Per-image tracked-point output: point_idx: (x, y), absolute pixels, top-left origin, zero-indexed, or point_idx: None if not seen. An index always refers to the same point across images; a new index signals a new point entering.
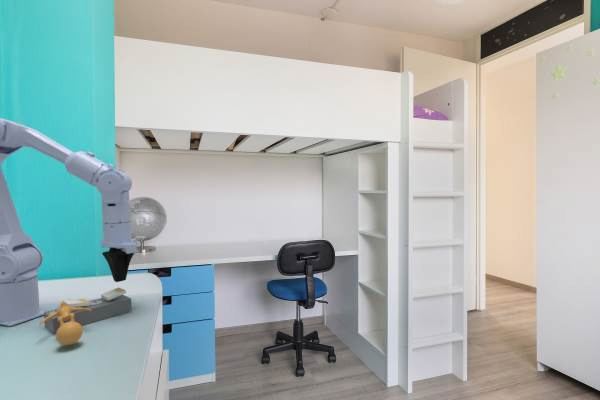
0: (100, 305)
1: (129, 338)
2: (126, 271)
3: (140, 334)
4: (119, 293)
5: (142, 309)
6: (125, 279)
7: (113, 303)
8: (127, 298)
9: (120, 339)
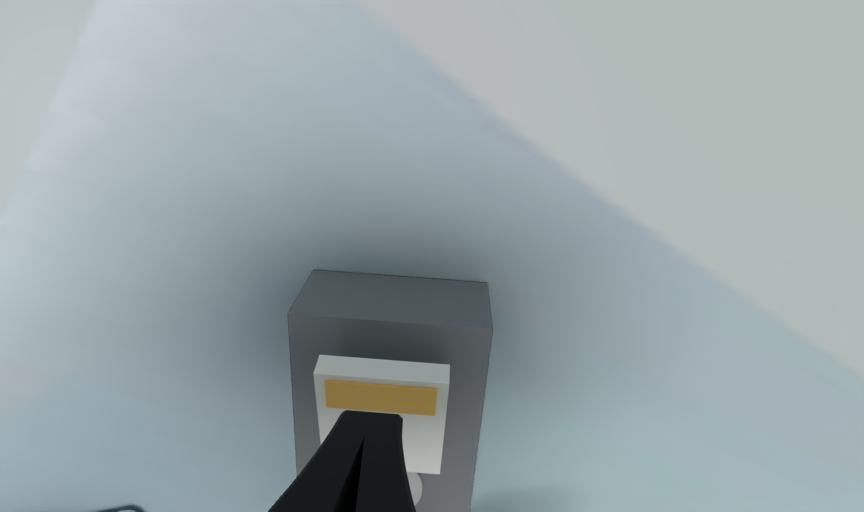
0: (455, 485)
1: (830, 459)
2: (406, 484)
3: (849, 417)
4: (445, 412)
5: (520, 227)
6: (401, 421)
7: (479, 428)
8: (472, 344)
9: (795, 480)
